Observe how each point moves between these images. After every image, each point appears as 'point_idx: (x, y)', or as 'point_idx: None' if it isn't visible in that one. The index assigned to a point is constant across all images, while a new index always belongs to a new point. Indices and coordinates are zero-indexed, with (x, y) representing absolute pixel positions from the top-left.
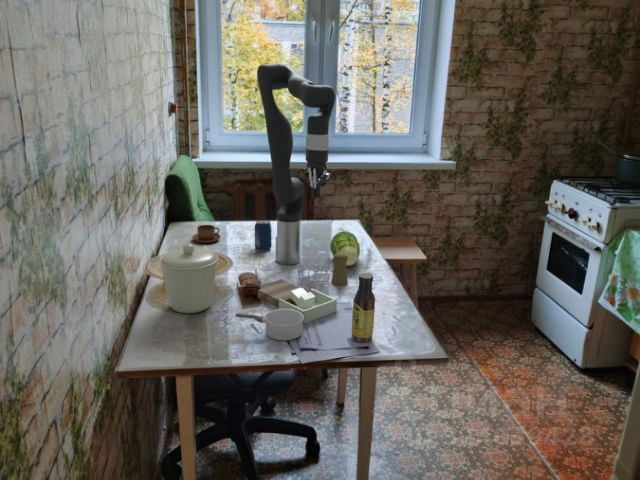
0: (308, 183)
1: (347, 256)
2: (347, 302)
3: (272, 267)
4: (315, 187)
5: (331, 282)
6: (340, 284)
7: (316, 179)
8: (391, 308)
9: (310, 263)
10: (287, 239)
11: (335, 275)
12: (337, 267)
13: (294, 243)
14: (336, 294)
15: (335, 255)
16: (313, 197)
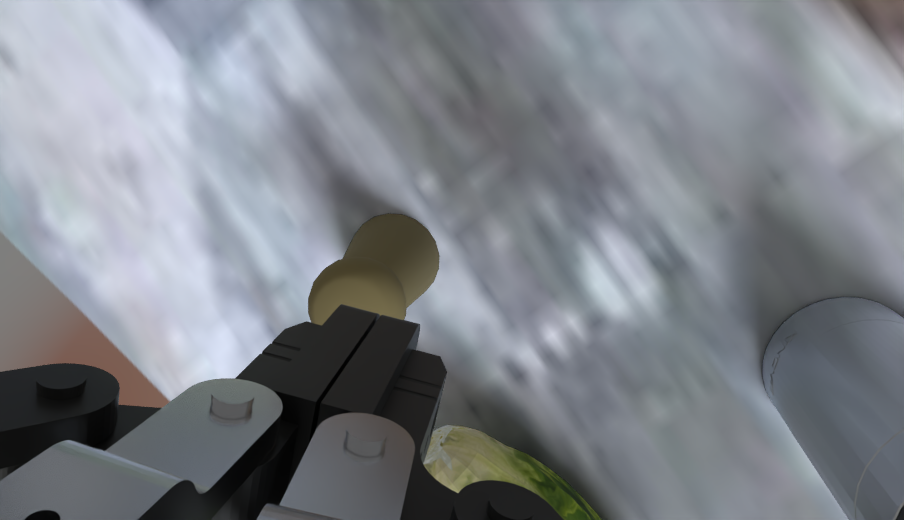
0: (494, 497)
1: (432, 452)
2: (205, 56)
3: (867, 218)
4: (212, 382)
5: (423, 228)
6: (362, 226)
7: (14, 508)
8: (19, 136)
9: (697, 408)
10: (883, 379)
11: (383, 233)
12: (363, 252)
13: (823, 400)
14: (310, 109)
15: (369, 284)
16: (363, 310)
